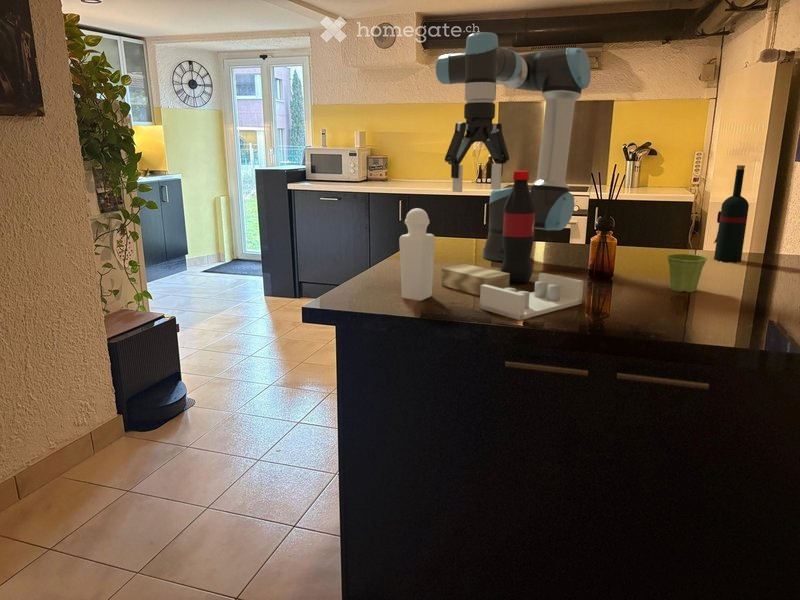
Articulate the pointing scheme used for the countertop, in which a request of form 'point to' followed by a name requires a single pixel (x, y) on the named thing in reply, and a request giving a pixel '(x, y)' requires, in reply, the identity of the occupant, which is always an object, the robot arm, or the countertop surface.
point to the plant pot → (685, 271)
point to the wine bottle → (732, 223)
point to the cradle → (532, 297)
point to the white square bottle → (416, 257)
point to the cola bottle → (518, 230)
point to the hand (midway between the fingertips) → (477, 190)
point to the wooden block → (473, 278)
